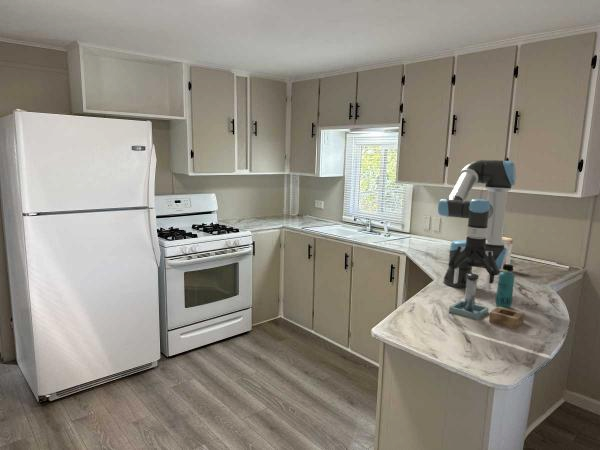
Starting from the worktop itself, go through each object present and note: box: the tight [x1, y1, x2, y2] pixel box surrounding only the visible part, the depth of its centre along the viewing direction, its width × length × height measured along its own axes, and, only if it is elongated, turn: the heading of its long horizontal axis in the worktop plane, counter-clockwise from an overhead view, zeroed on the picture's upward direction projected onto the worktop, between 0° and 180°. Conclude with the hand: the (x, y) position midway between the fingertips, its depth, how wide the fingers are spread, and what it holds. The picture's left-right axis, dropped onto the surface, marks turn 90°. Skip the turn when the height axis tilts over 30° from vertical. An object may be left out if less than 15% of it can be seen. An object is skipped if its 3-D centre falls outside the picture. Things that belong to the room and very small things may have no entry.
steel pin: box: [464, 272, 480, 313], centre depth 179 cm, size 5×5×16 cm
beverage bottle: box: [495, 264, 515, 309], centre depth 187 cm, size 6×7×20 cm
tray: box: [448, 300, 490, 320], centre depth 180 cm, size 12×12×3 cm
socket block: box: [488, 306, 525, 330], centre depth 170 cm, size 10×10×5 cm
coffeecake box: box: [499, 236, 514, 272], centre depth 258 cm, size 15×7×20 cm, turn 42°
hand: (471, 286), depth 179 cm, fingers open, 13 cm apart
